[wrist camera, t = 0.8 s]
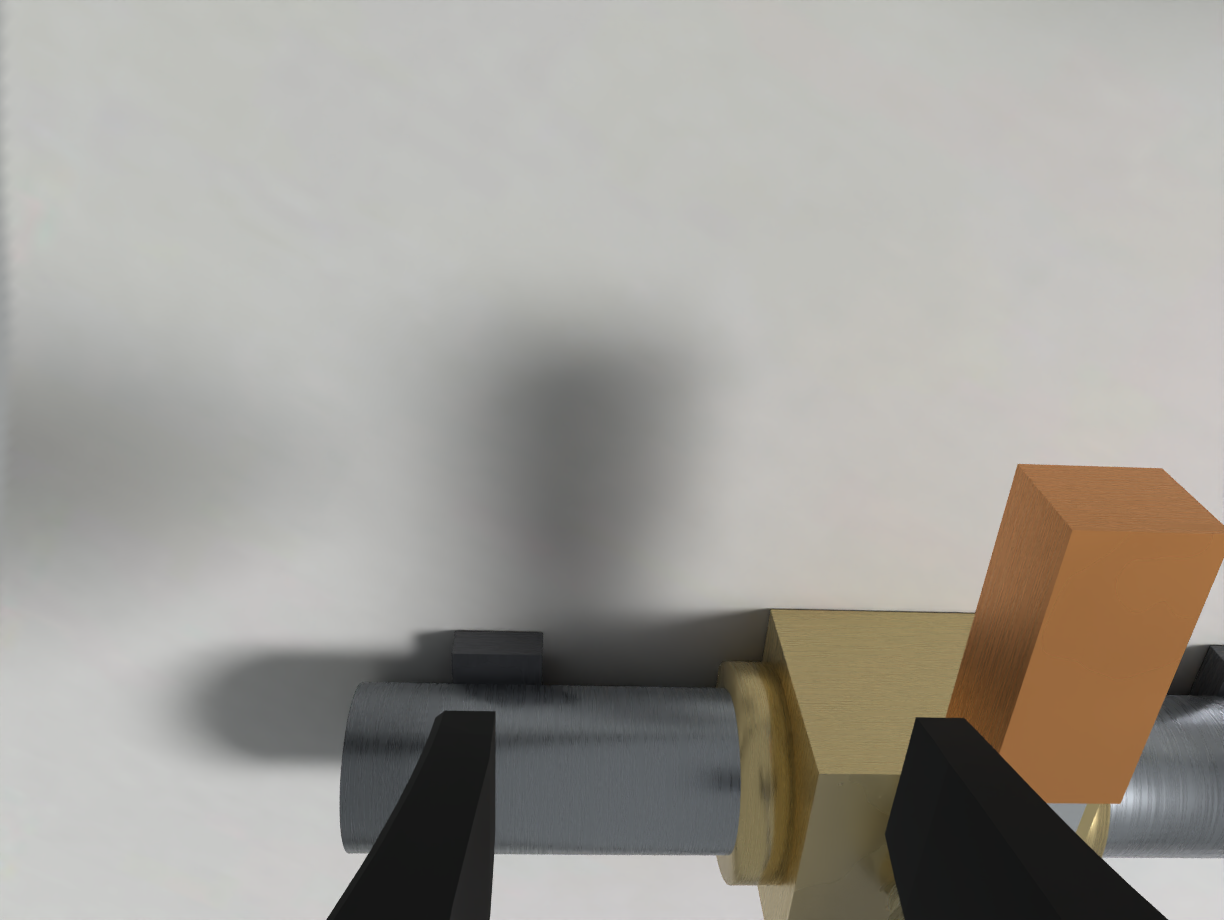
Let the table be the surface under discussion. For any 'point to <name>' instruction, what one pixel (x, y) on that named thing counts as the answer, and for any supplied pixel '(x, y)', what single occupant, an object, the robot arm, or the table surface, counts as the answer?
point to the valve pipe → (754, 758)
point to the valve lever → (1083, 626)
